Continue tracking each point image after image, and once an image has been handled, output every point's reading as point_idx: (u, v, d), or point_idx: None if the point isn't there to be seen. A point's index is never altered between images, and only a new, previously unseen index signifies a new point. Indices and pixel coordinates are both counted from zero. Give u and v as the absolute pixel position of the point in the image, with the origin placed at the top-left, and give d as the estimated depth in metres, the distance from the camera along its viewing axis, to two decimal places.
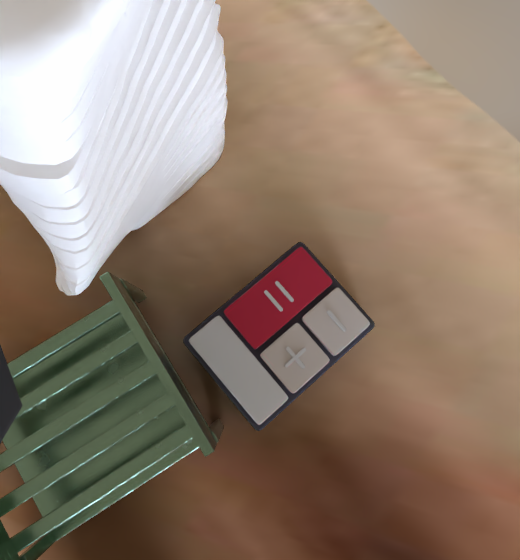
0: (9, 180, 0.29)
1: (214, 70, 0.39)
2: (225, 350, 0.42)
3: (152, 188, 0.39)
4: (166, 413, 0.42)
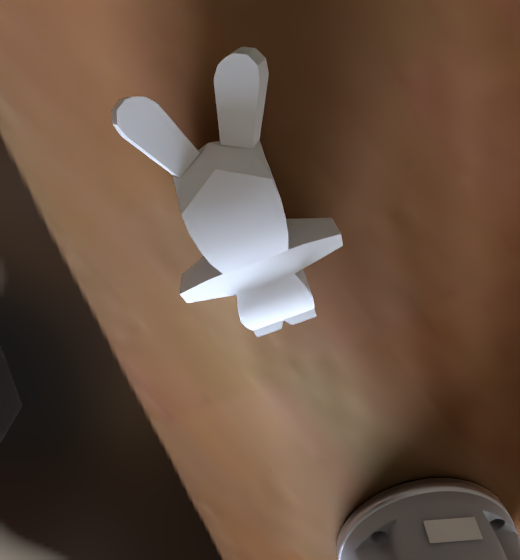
0: None
1: None
2: None
3: None
4: None
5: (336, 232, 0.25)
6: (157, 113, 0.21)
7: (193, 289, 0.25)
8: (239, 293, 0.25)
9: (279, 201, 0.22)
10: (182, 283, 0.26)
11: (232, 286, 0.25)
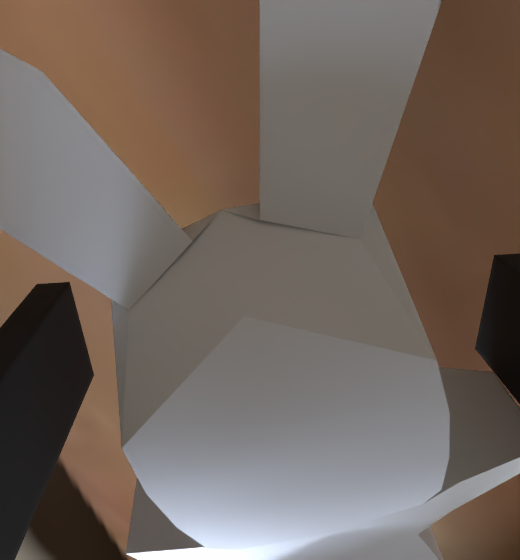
0: None
1: None
2: None
3: None
4: None
5: None
6: (44, 109, 0.06)
7: (159, 552, 0.10)
8: None
9: (443, 421, 0.07)
10: (137, 509, 0.11)
11: None
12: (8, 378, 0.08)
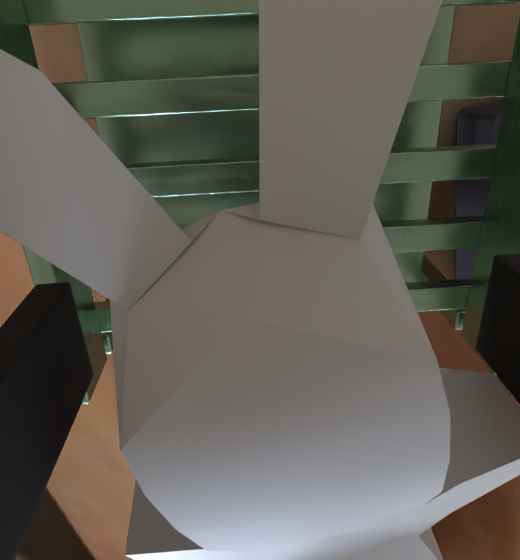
0: None
1: None
2: None
3: None
4: (380, 218, 0.24)
5: None
6: (42, 108, 0.06)
7: (158, 554, 0.10)
8: None
9: (444, 422, 0.07)
10: (136, 510, 0.11)
11: None
12: (8, 378, 0.08)
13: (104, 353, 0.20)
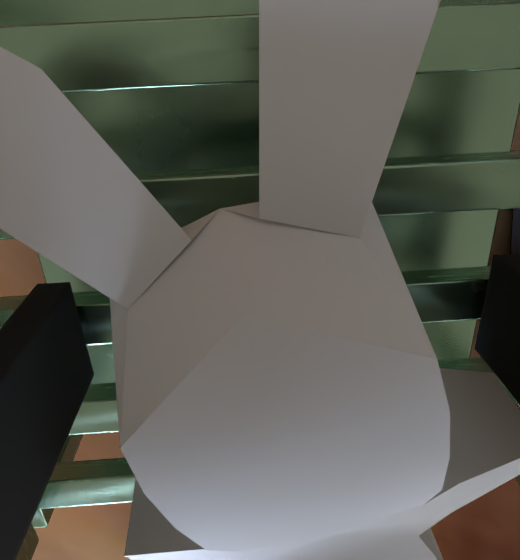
0: None
1: None
2: None
3: None
4: None
5: None
6: (43, 107, 0.06)
7: (158, 554, 0.10)
8: None
9: (444, 420, 0.07)
10: (135, 511, 0.11)
11: None
12: (9, 378, 0.08)
13: (33, 537, 0.14)
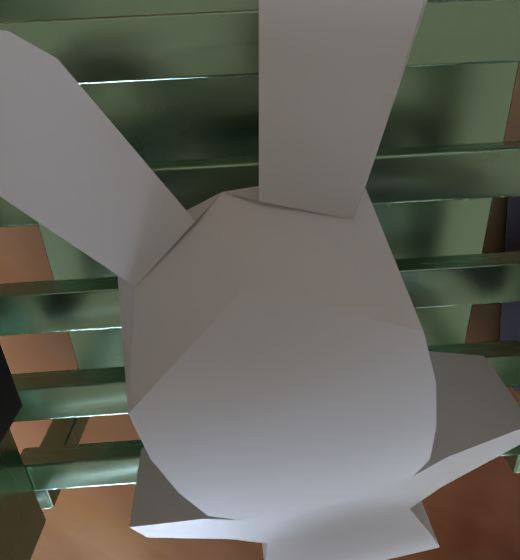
0: None
1: None
2: None
3: None
4: None
5: (518, 416, 0.10)
6: (58, 94, 0.06)
7: (162, 525, 0.10)
8: (271, 541, 0.10)
9: (430, 390, 0.07)
10: (140, 486, 0.12)
11: (257, 534, 0.10)
12: None
13: (40, 517, 0.15)
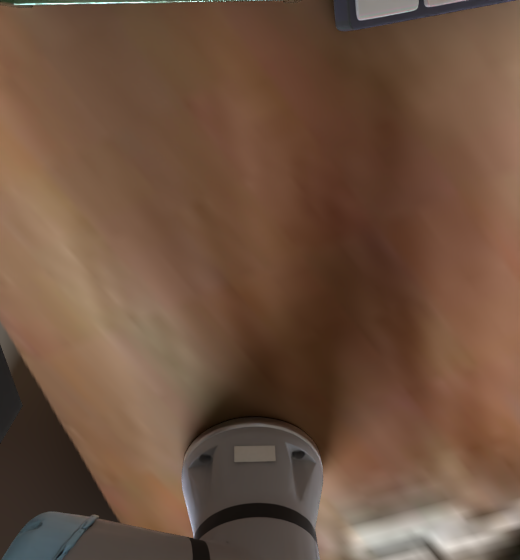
0: None
1: None
2: None
3: None
4: None
5: None
6: None
7: None
8: None
9: None
10: None
11: None
12: None
13: None
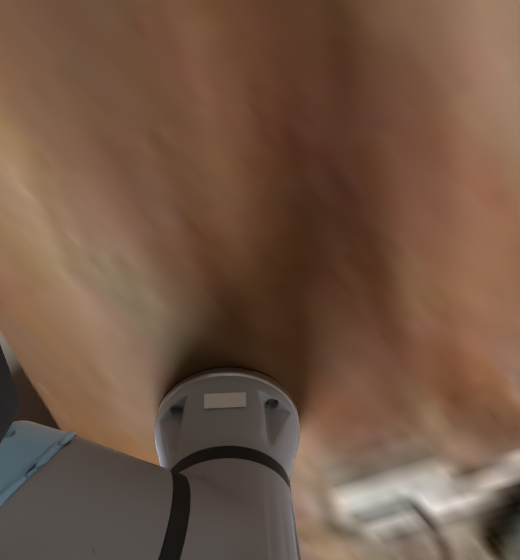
0: None
1: None
2: None
3: None
4: None
5: None
6: None
7: None
8: None
9: None
10: None
11: None
12: None
13: None
